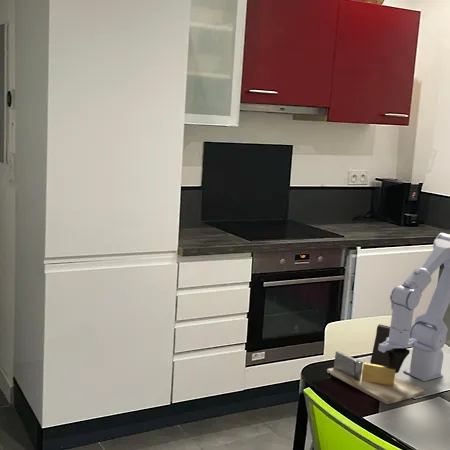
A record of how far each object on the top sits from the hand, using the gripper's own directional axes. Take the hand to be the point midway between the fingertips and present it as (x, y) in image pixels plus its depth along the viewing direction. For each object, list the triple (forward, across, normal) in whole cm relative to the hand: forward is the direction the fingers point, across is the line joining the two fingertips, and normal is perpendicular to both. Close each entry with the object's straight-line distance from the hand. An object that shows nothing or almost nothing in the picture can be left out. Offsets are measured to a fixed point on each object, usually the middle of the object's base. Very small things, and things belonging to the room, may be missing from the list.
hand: (394, 371), depth 189 cm
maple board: (+4, +5, -3) cm, 7 cm away
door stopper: (+4, -10, -13) cm, 17 cm away
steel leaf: (+3, +10, -9) cm, 14 cm away
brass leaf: (+2, +6, -1) cm, 7 cm away
